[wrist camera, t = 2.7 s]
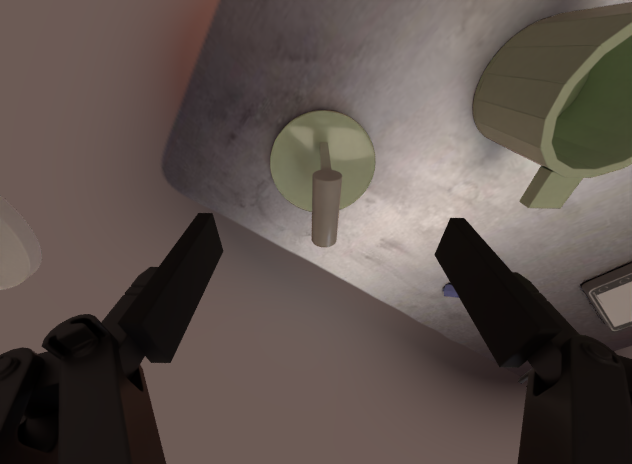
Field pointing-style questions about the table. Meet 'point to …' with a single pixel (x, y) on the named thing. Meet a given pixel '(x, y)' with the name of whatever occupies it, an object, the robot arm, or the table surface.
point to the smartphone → (612, 297)
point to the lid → (322, 167)
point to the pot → (562, 99)
